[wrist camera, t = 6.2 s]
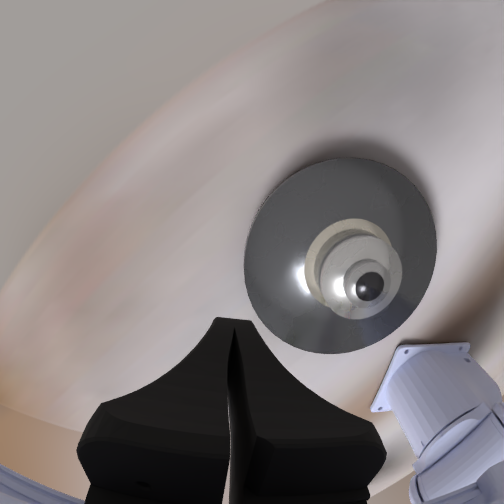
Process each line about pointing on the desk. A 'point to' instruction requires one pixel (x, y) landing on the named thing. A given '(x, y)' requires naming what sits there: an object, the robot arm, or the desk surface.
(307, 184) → the turntable
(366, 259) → the cover
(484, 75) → the desk surface
